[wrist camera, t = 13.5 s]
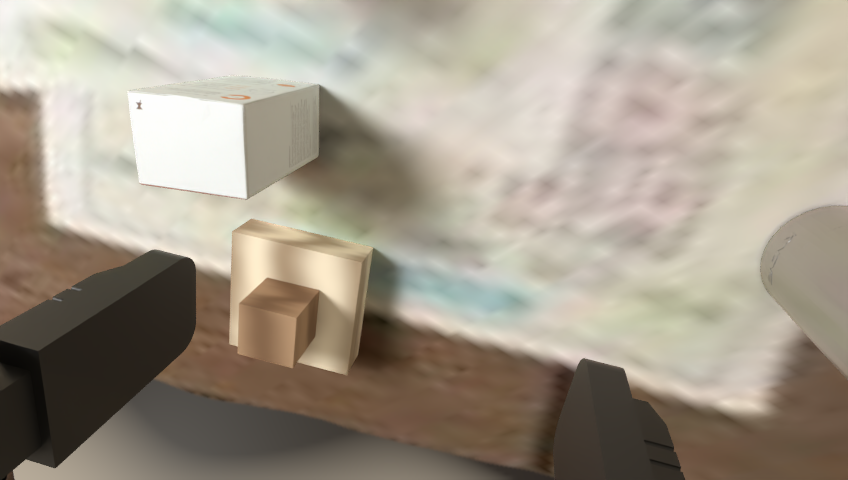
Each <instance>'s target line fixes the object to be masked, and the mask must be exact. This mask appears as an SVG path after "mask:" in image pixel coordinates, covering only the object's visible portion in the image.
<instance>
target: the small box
mask: <svg viewBox="0 0 848 480" xmlns="http://www.w3.org/2000/svg"><path fill="white" fill-rule="evenodd" d="M127 93H128V99H129V109H130V117H131V125H132V133H133V141H134V148H135V154H136V162H137V169H138V176H139V183H140V184H142V185H149V186H156V187H163V188H169V189H176V190H183V191H190V192H197V193H203V194H210V195H218V196H225V197H232V198H239V199H245V200H247V199H249V198H250V197H252V196H254V195H255V194H257V193H259V192H260V191H262V190H264V189H265V188H267V187H269V186H270V185H272V184H274V183H275V182H277V181H279V180H280V179H282V178H283V177H285V176H287V175H289V174H290V173H292V172H294V171H295V170H297V169H299V168H300V167H302V166H304V165H305V164H307V163H309V162H310V161H312V160H314V159H315V158H317V157H318V156H319V85H318V84H312V83H304V82H296V81H287V80H278V79H269V78H259V77H250V76H239V75H230V76H224V77H217V78H212V79H206V80H199V81H192V82H184V83H176V84H169V85H162V86H156V87H149V88H142V89H135V90H129V91H128V92H127Z"/></svg>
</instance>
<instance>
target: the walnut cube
mask: <svg viewBox="0 0 848 480" xmlns="http://www.w3.org/2000/svg"><path fill="white" fill-rule="evenodd" d="M319 292H320V290H317V289H313V288H309V287H305V286H301V285H296V284H292V283H288V282H284V281H280V280H276V279H272V278H268V277H267V278H266V279H265V280H264V281H263V282H262V283H261V284H260V285H258V286H257V287H256V288H255V289H254V290H253V291H252V292H251V293H250V294H249V295H248V296H247V297H245V298H244V299H243V300H242V301H241V302H240V303H239V321H238V354H240V355H244V356H248V357H252V358H255V359H259V360H263V361H267V362H271V363H274V364H278V365H282V366H286V367H290V368H293V367H294V366H295V365H296V363H297V362H298V360H299V359H300V358H301V356H302V355H303V353H304V352H305V351H306V349H307V348H308V346H309V345H310V344H311V342H312V341H313V339H314V338H315V334H316V323H317V313H318V302H319Z"/></svg>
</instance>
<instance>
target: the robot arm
mask: <svg viewBox="0 0 848 480" xmlns="http://www.w3.org/2000/svg"><path fill="white" fill-rule="evenodd" d="M760 272H761V277H762V282H763V284H764V286H765V288H766V290H767V291H768V293H769V294H770V295H771V296H772V297H773V298H774V300H775V301H776V302H777V303H778V304H779V305H780V306H781V307H782V308H783V310H784V311H785V312H786V313H787V314H788V315H789V316H790V317H791V319H792V320H793V321H794V322H795V323H796V324H797V325H798V326H799V327H800V329H801V330H802V331H803V332H804V333H805V334H806V335H807V336H808V337H809V338H810V340H811V341H812V342H813V343H814V344H815V345H816V346H817V347H818V348H819V349H820V350H821V352H822V353H823V354H824V355H825V356H826V357H827V358H828V359H829V360H830V361H831V362H832V364H833V365H834V366H835V367H836V368H837V369H838V370H839V371H840V372H841V373H842V375H843V376H844V377H845V378H846V379H847V380H848V206H828V207H821V208H817V209H814V210H811V211H808V212H805V213H803V214H801V215H799V216H797V217H795V218H793V219H792V220H790V221H789V222H788V223H786V224H785V225H784V226H782V227H781V228H780V229H779V230H778V231H777V232H776V233H775V234H774V235H773V237H772V238H771V239H770V241H769V243H768V244H767V246H766V248H765V250H764V253H763V256H762V259H761V268H760ZM195 325H196V268H195V264H194V262H193V260H192V259H190V258H188V257H184V256H180V255H176V254H172V253H168V252H164V251H160V250H151V251H149V252H147V253H145V254H143V255H142V256H140V257H138V258H136V259H135V260H133V261H131V262H129V263H128V264H126V265H124V266H121V267H117V268H114V269H110V270H107V271H103V272H100V273H96V274H94V275H92V276H90V277H88V278H86V279H85V280H83V281H81V282H79V283H77V284H75V285H74V286H72V288H71V290H70V289H66V290H65V291H63V292H61V293H59V294H57V295H55V296H54V297H53V299H52V300H46V301H45V302H43V303H41V304H39V305H37V306H35V307H34V308H32V309H30V310H28V311H26V312H24V313H23V314H21V315H19V316H17V317H15V318H14V319H12V320H10V321H8V322H6V323H4V324H3V325H1V326H0V480H15V479H14V474H13V469H15V468H16V467H17V466H18V465H20V464H21V463H22V462H23V461H24V460H25V459H27V460H30V461H33V462H36V463H40V464H43V465H46V466H49V467H53V468H56V467H57V466H58V465H59V464H61V463H62V462H63V461H64V460H65V459H66V458H67V457H68V456H69V455H70V454H72V453H73V452H74V451H75V450H76V449H77V448H78V447H79V446H80V445H81V444H82V443H84V442H85V441H86V440H87V439H88V438H89V437H90V436H91V435H92V434H93V433H94V432H96V431H97V430H98V429H99V428H100V427H101V426H102V425H103V424H104V423H106V422H107V421H108V420H109V419H110V418H111V417H112V416H113V415H114V414H115V413H116V412H118V411H119V410H120V409H121V408H122V407H123V406H124V405H125V404H126V403H127V402H129V401H130V400H131V399H132V398H133V397H134V396H135V395H136V394H137V393H138V392H140V391H141V390H142V389H143V388H144V387H145V386H146V385H147V384H148V383H149V382H151V381H152V380H153V379H154V378H155V377H156V376H157V375H158V374H159V373H160V372H161V371H163V370H164V369H165V368H166V367H167V366H168V365H169V364H170V363H171V362H172V361H174V360H175V359H176V358H177V357H178V356H179V355H180V354H181V353H182V352H183V351H184V350H185V349H186V348H187V346H188V345H189V343H190V341H191V339H192V337H193V334H194V330H195ZM553 454H554V474H555V480H685V478H684V475H683V472H680V469H681V466H680V463H679V460H678V457H677V455H676V452H674V446H673V443H672V440H671V437H670V434H669V431H668V428H667V426H666V424H665V423H664V421H663V420H662V419H661V418H660V416H659V415H658V414H657V413H656V412H655V410H654V409H653V408H652V407H651V405H650V404H649V403H648V402H645V401H641V400H638V399H634V398H632V395H631V391H630V388H629V384H628V381H627V377H626V373H625V371H624V369H623V368H620V367H616V366H612V365H608V364H604V363H600V362H596V361H592V360H588V359H585V358H583V359H582V360H581V361H580V362H579V364H578V367H577V369H576V372H575V375H574V378H573V381H572V384H571V386H570V389H569V392H568V395H567V398H566V401H565V404H564V406H563V409H562V412H561V415H560V418H559V421H558V424H557V428H556V433H555V439H554V451H553Z"/></svg>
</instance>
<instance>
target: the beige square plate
mask: <svg viewBox="0 0 848 480" xmlns="http://www.w3.org/2000/svg"><path fill="white" fill-rule="evenodd" d="M372 253H373V247H369V246H365V245H361V244H357V243H352V242H348V241H344V240H340V239H336V238H331V237H327V236H323V235H319V234H314V233H310V232H306V231H302V230H297V229H293V228H289V227H285V226H280V225H276V224H272V223H268V222H264V221H259V220H255V219H250V220H249V221H247V222H246V223H244V224H243V225H241V226H240V227H238V228H237V229H235V230H234V231H232V262H231V301H230V340H229V344H231V345H235V346H238V321H239V303H240V302H241V301H242V300H243V299H244V298H245V297H247V296H248V295H249V294H250V293H251V292H252V291H253V290H254V289H255V288H256V287H257V286H258V285H260V284H261V283H262V282H263V281H264V280H265V279H266V278H267V277H268V278H272V279H276V280H280V281H284V282H288V283H292V284H296V285H301V286H305V287H309V288H313V289H317V290H320V292H319V302H318V313H317V323H316V334H315V338H314V339H313V341H312V342H311V344H310V345H309V346H308V348H307V349H306V351H305V352H304V353H303V355H302V356H301V358H300V359H299V360H298V362H299V363H303V364H306V365H310V366H314V367H318V368H322V369H325V370H329V371H333V372H337V373H341V374H344V375H347V374H348V372H349V370H350V369H351V367H352V365H353V363H354V361H355V359H356V357H357V356H358V352H359V344H360V337H361V330H362V323H363V316H364V309H365V302H366V295H367V288H368V281H369V274H370V267H371V260H372Z"/></svg>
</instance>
